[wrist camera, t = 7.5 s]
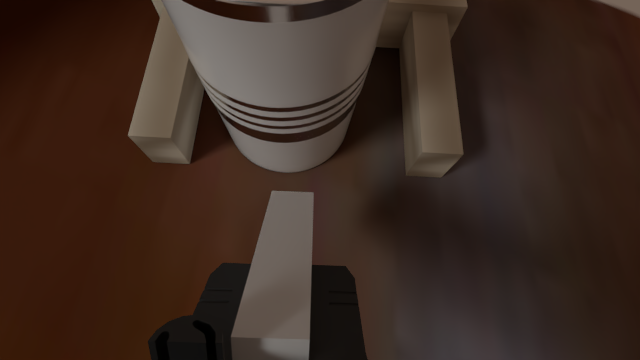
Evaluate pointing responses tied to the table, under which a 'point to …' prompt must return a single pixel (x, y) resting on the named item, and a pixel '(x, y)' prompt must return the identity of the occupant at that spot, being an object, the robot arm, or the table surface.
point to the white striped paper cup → (281, 70)
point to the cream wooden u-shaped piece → (396, 32)
